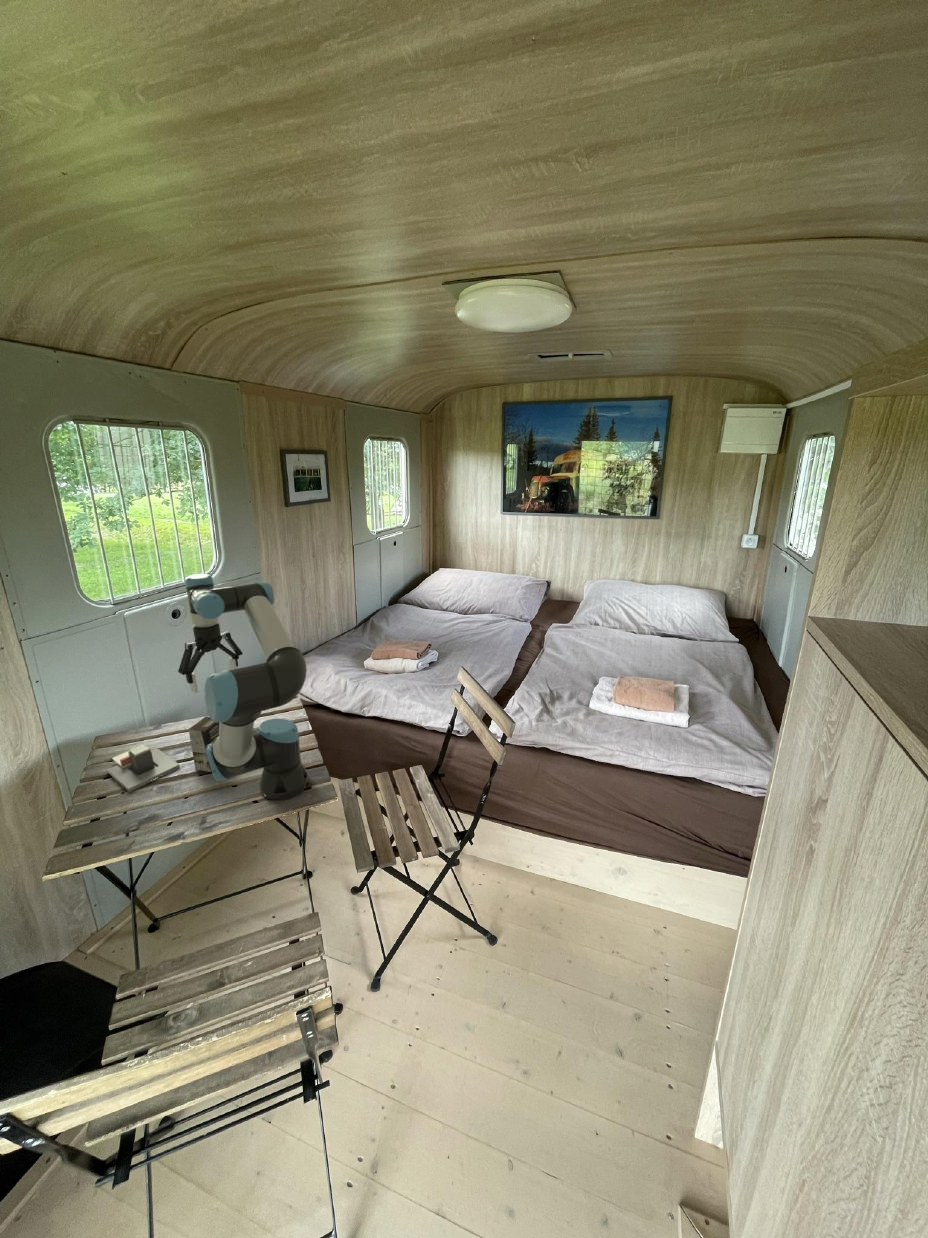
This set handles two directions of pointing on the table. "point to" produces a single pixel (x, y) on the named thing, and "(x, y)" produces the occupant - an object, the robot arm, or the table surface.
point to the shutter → (123, 759)
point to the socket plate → (135, 781)
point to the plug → (141, 759)
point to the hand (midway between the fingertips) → (215, 683)
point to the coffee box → (203, 741)
